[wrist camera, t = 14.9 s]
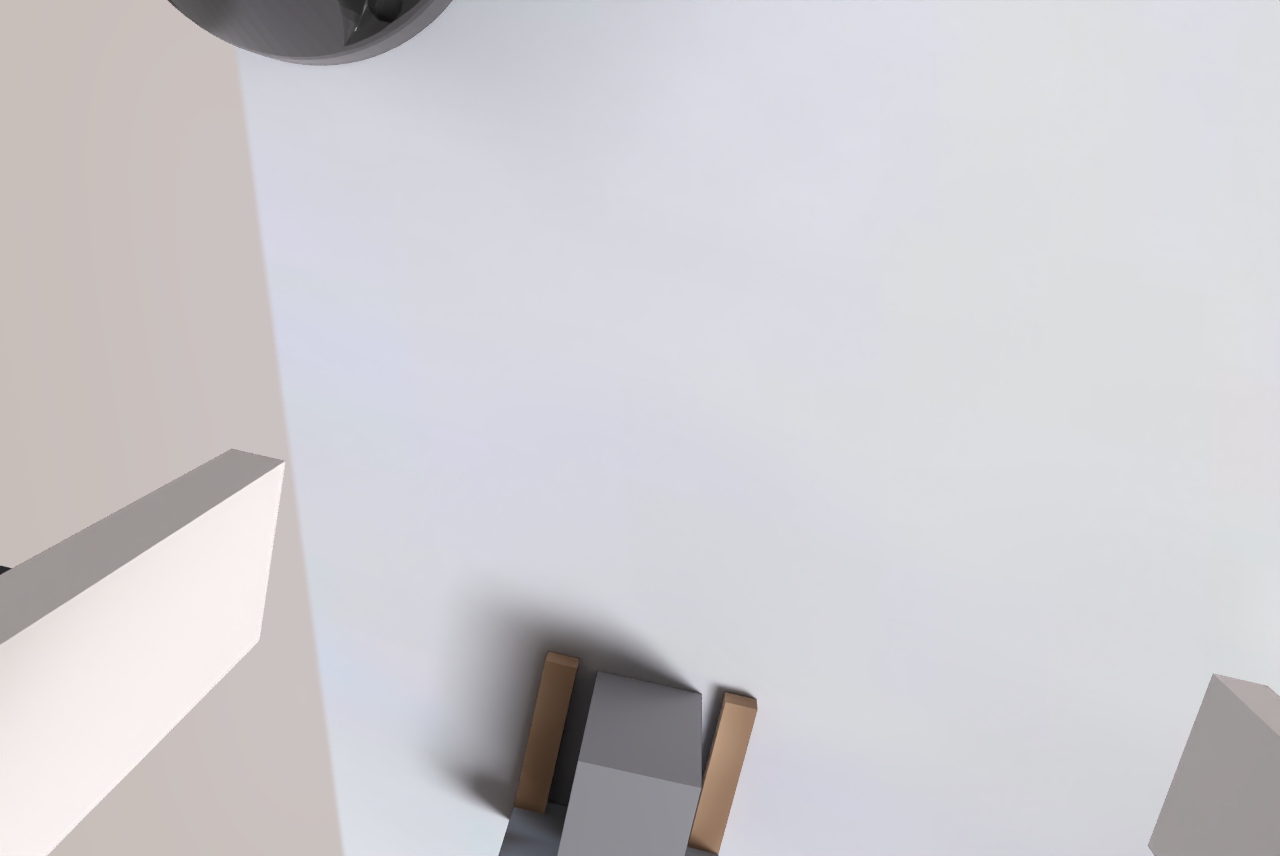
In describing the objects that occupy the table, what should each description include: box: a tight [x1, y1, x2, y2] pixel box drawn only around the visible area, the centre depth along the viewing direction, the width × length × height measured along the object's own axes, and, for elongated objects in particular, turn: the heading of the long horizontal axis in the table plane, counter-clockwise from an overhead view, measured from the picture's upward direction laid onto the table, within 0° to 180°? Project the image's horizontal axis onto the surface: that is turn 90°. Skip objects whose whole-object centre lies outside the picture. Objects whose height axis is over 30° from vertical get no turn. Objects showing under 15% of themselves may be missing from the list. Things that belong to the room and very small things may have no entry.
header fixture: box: [499, 651, 757, 856], centre depth 46 cm, size 10×9×9 cm
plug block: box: [557, 671, 702, 856], centre depth 46 cm, size 5×7×8 cm
